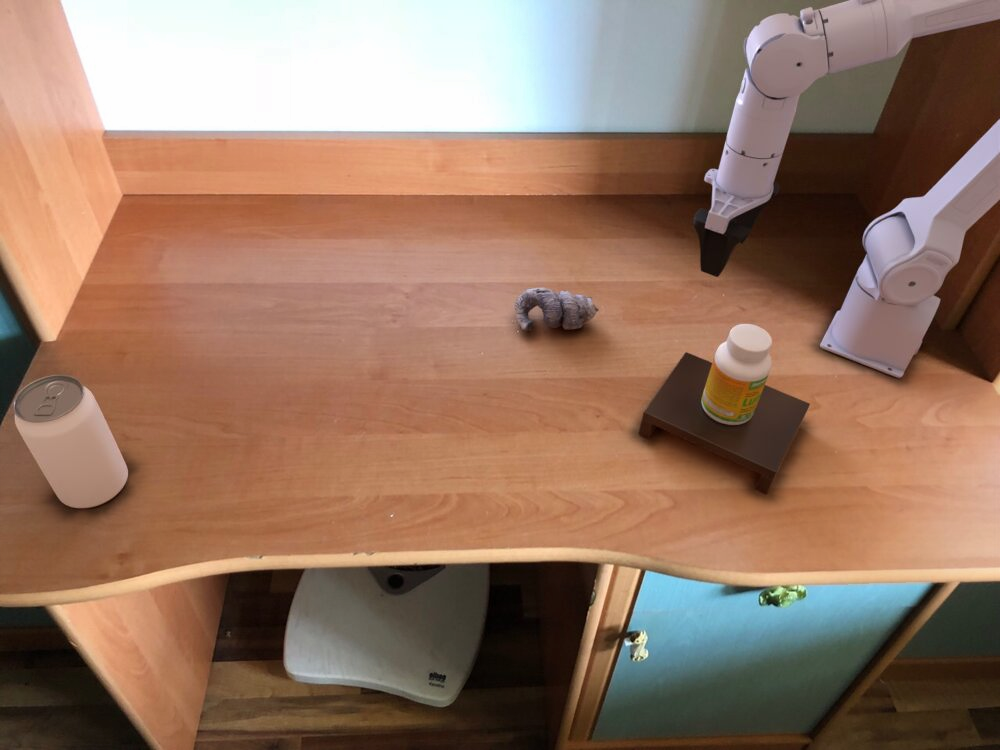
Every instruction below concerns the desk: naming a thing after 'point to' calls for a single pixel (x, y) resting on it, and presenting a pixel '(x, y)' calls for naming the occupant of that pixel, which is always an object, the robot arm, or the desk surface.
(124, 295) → the desk surface
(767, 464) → the shelf
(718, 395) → the supplement bottle
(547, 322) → the seashell
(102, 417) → the can
